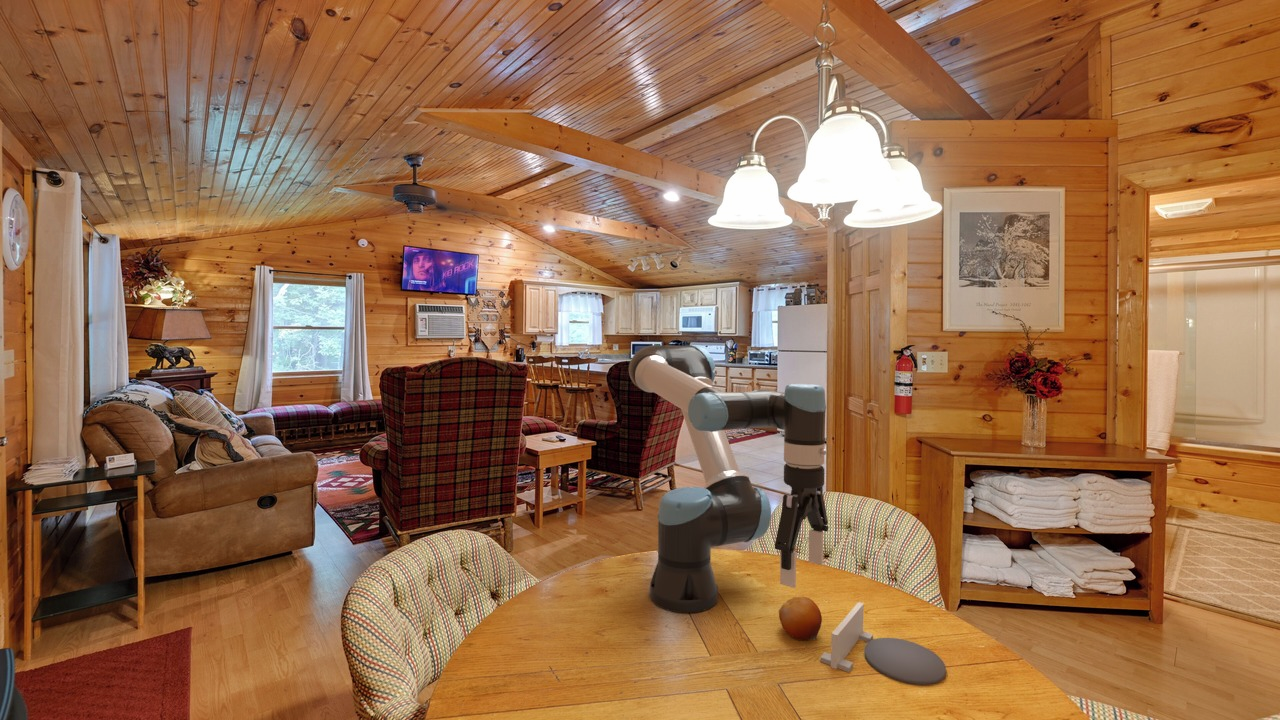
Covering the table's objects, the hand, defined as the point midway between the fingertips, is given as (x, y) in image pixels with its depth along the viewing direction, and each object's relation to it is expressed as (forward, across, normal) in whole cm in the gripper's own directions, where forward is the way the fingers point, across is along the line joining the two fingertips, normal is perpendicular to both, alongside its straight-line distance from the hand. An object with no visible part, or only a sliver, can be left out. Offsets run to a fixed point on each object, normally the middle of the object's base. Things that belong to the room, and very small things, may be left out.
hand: (802, 573), depth 104 cm
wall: (+12, +1, -8) cm, 15 cm away
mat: (+12, +3, -18) cm, 22 cm away
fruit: (+12, 0, 0) cm, 12 cm away
